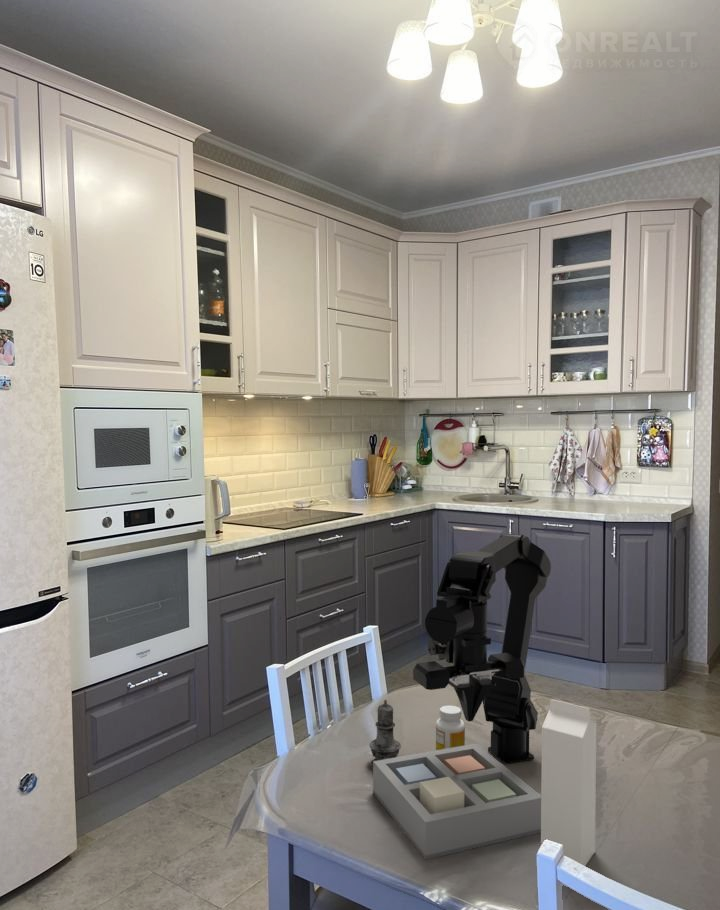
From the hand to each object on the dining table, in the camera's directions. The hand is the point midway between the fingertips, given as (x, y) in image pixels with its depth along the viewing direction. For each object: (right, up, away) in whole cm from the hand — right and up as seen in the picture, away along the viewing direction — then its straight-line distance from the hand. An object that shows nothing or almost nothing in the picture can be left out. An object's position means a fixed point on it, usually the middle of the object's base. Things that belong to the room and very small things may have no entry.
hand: (469, 720), depth 116 cm
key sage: (+3, -12, -8) cm, 15 cm away
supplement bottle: (-2, -13, +12) cm, 17 cm away
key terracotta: (-1, -12, 0) cm, 12 cm away
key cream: (-6, -10, -12) cm, 16 cm away
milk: (+12, -13, -17) cm, 24 cm away
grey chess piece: (-14, -12, +11) cm, 21 cm away
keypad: (-3, -13, -6) cm, 14 cm away
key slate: (-9, -12, -3) cm, 15 cm away
